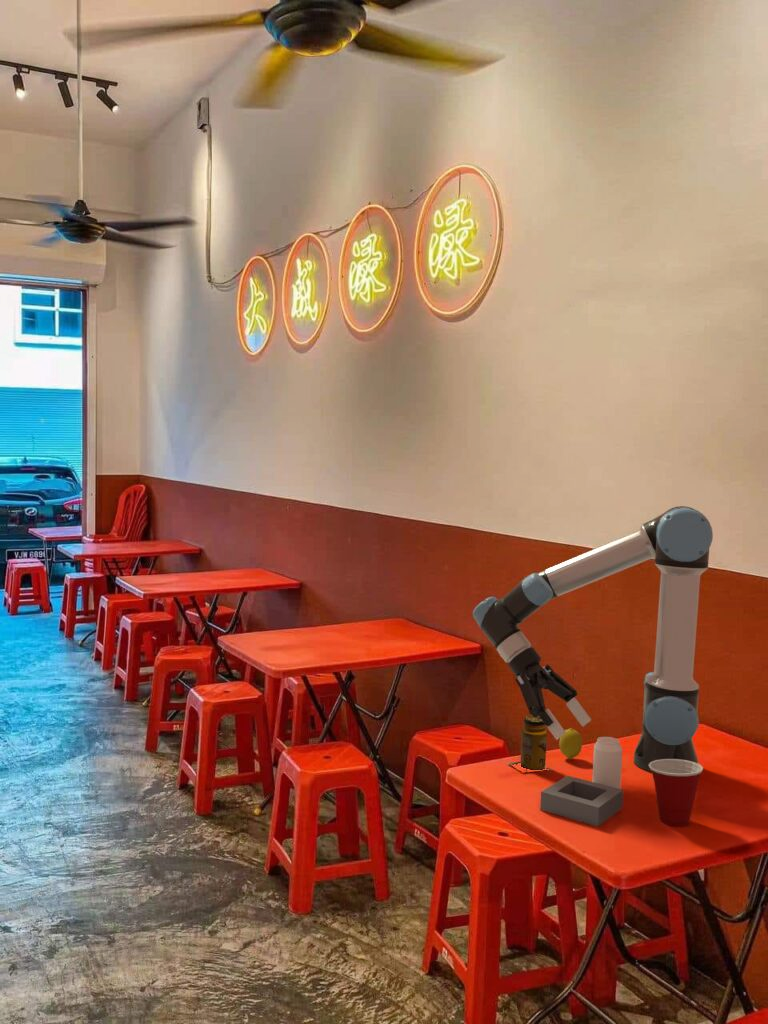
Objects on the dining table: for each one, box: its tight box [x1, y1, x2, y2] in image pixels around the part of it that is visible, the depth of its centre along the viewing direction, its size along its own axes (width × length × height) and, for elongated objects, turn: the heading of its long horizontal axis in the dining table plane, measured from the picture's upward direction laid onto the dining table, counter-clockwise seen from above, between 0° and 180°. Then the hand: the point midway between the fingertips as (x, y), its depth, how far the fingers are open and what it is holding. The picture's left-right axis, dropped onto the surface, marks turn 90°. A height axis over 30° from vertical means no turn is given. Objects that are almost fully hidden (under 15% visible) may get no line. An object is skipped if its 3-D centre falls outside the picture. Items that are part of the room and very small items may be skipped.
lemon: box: [558, 727, 583, 760], centre depth 219 cm, size 6×6×8 cm
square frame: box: [539, 775, 624, 828], centre depth 187 cm, size 13×13×4 cm
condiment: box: [506, 715, 553, 771], centre depth 213 cm, size 7×8×12 cm
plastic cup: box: [649, 759, 704, 827], centre depth 182 cm, size 11×11×12 cm
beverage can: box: [591, 736, 623, 789], centre depth 197 cm, size 6×6×12 cm
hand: (574, 729), depth 202 cm, fingers open, 13 cm apart
